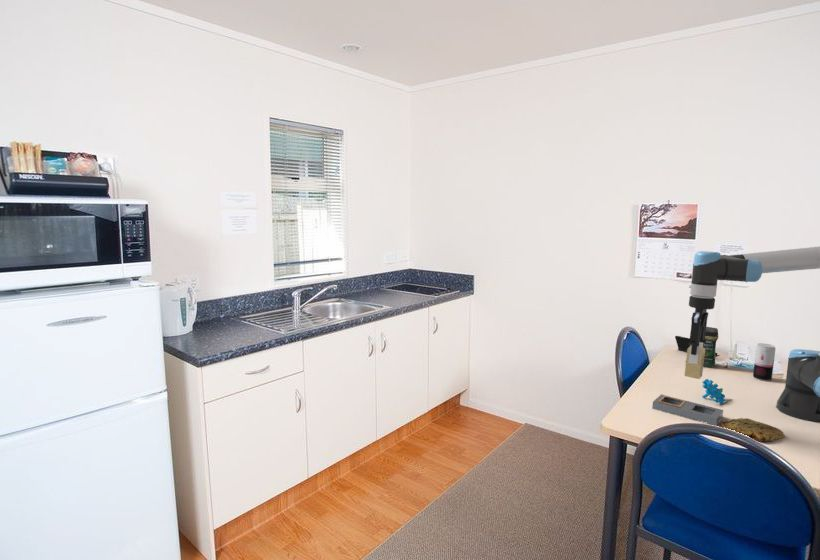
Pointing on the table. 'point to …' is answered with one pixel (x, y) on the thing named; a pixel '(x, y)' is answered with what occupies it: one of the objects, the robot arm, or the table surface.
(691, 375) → the brass peg
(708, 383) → the blue irregular branched piece
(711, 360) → the coffee jar
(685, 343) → the game console
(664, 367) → the table surface
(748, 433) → the pastry
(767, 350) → the beverage can
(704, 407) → the grey block
